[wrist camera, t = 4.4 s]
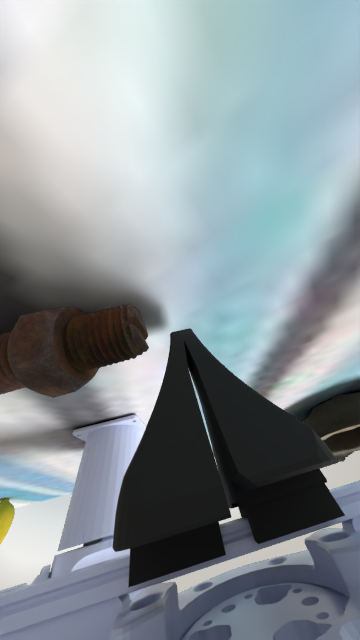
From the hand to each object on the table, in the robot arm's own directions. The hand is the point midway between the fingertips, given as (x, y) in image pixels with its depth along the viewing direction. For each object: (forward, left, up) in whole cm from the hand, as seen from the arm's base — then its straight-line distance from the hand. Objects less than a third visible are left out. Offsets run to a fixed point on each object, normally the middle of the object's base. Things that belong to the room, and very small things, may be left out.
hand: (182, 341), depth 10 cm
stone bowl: (-35, -33, -2) cm, 48 cm away
